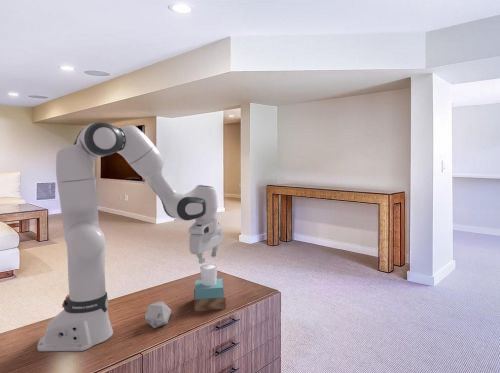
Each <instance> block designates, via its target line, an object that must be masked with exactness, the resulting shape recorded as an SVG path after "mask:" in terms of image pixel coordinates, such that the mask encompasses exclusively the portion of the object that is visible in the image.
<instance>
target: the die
mask: <svg viewBox="0 0 500 373" xmlns="http://www.w3.org/2000/svg"><path fill="white" fill-rule="evenodd" d="M171 313H172V309H171V308H170V307H169V306H168V305H167V304H166V303H165V302H164V301H163V300H161V301H157V302H154V303H151V304H149V305H148V306H147V310H146V313H145V316H144V320H146V321H147V323H148V324H149V325H150V326H151V327H152V328H153V329H156V328H159V327H161V326H165V325H167V324H168V323H169V320H170V316H171Z"/></svg>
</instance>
